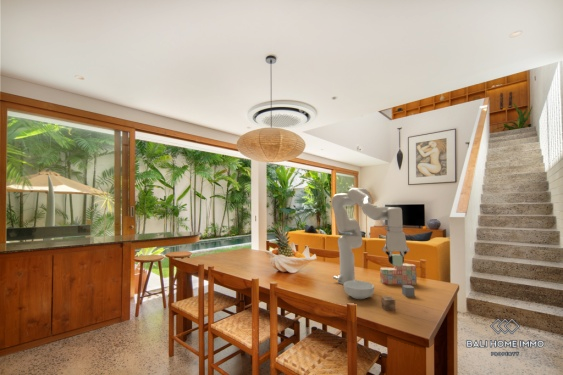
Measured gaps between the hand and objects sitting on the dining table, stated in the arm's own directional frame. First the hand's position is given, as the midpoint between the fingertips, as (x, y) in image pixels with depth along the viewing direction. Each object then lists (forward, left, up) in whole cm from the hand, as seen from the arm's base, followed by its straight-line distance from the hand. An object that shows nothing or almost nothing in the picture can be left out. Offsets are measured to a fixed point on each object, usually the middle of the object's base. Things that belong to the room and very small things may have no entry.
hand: (396, 263), depth 145 cm
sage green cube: (0, 0, -1) cm, 1 cm away
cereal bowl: (-19, +7, -21) cm, 29 cm away
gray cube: (+10, +10, -21) cm, 25 cm away
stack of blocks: (+13, +33, -21) cm, 41 cm away
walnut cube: (-8, -9, -21) cm, 24 cm away
